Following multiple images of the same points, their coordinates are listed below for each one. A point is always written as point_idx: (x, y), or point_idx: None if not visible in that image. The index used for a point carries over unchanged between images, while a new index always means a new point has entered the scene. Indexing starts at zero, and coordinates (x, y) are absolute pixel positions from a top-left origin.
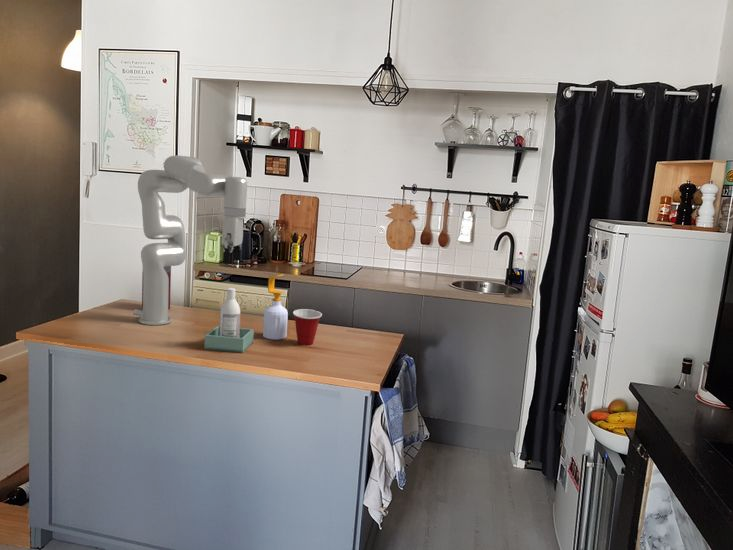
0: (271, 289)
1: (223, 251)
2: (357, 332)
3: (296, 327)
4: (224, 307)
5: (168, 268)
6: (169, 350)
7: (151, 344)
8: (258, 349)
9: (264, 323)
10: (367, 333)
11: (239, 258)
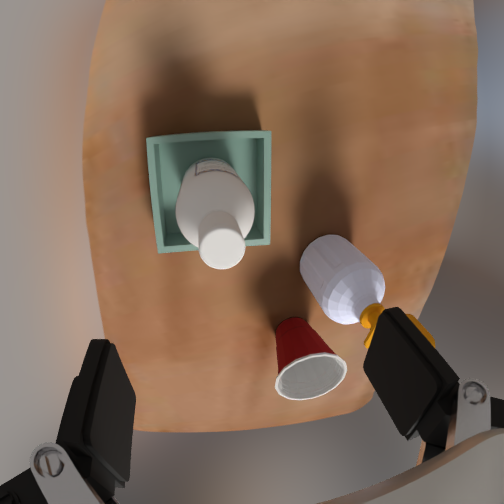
0: None
1: (35, 448)
2: None
3: (290, 341)
4: (181, 204)
5: None
6: (115, 63)
7: (153, 3)
8: None
9: (330, 255)
10: None
11: (369, 375)
